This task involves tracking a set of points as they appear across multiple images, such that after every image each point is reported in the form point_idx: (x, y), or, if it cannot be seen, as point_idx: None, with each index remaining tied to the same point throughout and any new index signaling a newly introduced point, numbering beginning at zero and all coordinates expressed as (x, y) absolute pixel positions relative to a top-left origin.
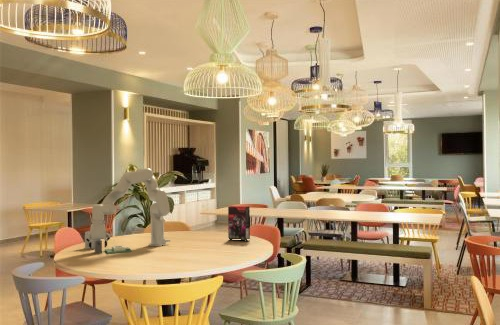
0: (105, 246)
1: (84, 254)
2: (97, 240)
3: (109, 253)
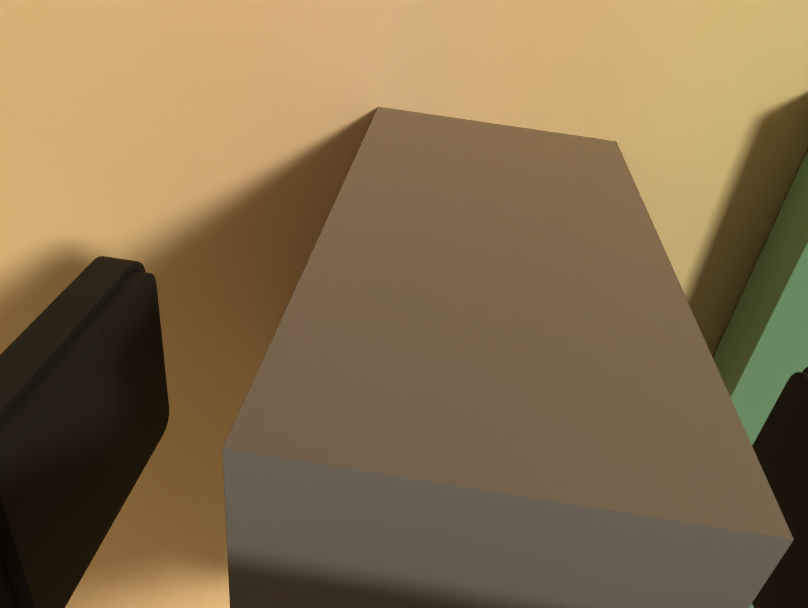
0: None
1: None
2: (450, 587)
3: None
